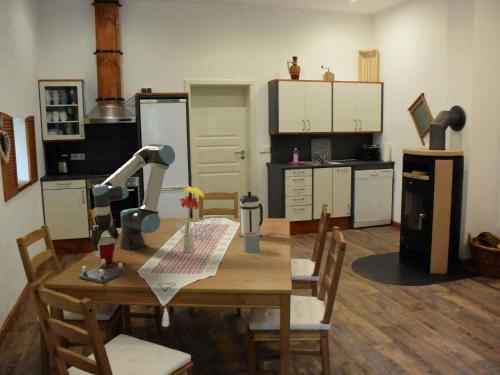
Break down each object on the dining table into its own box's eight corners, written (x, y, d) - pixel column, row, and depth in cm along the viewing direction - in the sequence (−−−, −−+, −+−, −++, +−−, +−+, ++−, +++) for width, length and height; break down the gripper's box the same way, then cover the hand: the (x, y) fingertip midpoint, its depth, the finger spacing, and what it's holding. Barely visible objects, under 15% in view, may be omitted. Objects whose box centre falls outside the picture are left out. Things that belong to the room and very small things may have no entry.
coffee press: (263, 239, 270) (262, 193, 266) (238, 239, 270) (237, 193, 266) (263, 232, 287) (262, 188, 283) (239, 232, 288) (238, 189, 283)
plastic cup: (95, 265, 224) (93, 243, 222) (97, 259, 235) (95, 238, 233) (117, 263, 227) (115, 241, 225) (117, 257, 238) (115, 236, 236)
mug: (258, 253, 242) (257, 236, 240) (242, 252, 244) (241, 235, 242) (262, 246, 255) (261, 230, 253) (247, 245, 257) (246, 229, 255)
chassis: (104, 267, 222) (103, 257, 221) (126, 272, 214) (126, 262, 213) (79, 277, 208) (78, 267, 207) (102, 283, 200) (101, 272, 199)
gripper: (114, 209, 238) (117, 246, 242) (80, 217, 218) (84, 258, 222) (124, 210, 235) (126, 248, 238) (90, 219, 215) (94, 260, 218)
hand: (106, 253), depth 230 cm, fingers closed on plastic cup, 11 cm apart
